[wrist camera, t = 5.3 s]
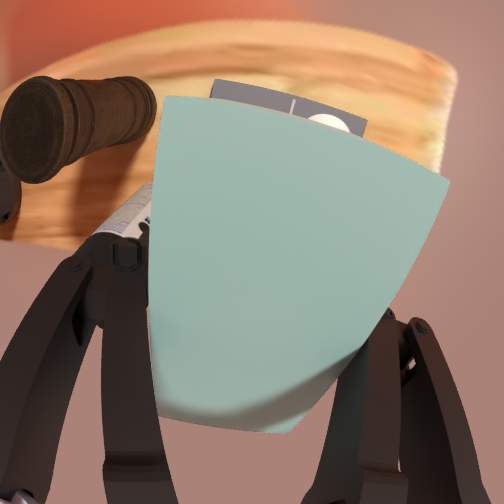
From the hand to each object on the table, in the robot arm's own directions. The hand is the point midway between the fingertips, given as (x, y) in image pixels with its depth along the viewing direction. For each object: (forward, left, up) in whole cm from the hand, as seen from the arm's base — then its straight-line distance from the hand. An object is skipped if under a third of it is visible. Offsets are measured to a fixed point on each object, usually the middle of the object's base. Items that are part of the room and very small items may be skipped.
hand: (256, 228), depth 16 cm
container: (-18, +4, -20) cm, 27 cm away
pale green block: (0, 0, 0) cm, 0 cm away
